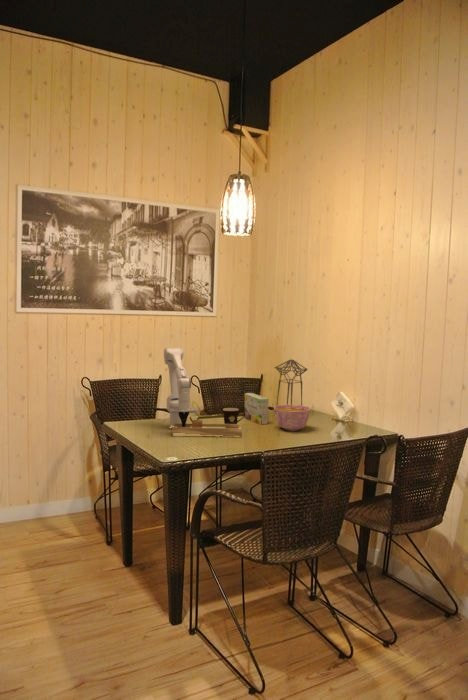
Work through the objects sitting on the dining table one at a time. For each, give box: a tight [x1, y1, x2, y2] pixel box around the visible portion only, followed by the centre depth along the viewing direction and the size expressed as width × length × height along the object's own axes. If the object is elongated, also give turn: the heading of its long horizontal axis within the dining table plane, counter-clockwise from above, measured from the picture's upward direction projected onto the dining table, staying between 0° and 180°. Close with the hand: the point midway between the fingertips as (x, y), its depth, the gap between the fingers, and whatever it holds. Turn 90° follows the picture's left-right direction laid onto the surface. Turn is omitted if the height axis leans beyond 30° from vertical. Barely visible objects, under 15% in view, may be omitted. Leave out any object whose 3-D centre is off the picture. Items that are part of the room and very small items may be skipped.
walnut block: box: [191, 419, 203, 428], centre depth 288 cm, size 5×5×4 cm
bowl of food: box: [273, 404, 311, 432], centre depth 302 cm, size 20×20×12 cm
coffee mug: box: [222, 407, 245, 424], centre depth 305 cm, size 12×9×10 cm
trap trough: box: [171, 422, 242, 437], centre depth 288 cm, size 11×36×4 cm, turn 89°
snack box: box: [244, 392, 269, 426], centre depth 322 cm, size 21×6×15 cm, turn 25°
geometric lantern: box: [274, 359, 308, 407], centre depth 335 cm, size 16×16×35 cm
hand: (183, 426), depth 288 cm, fingers closed
